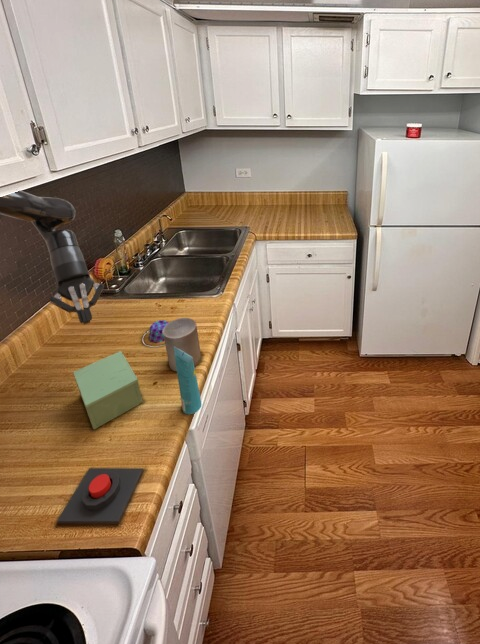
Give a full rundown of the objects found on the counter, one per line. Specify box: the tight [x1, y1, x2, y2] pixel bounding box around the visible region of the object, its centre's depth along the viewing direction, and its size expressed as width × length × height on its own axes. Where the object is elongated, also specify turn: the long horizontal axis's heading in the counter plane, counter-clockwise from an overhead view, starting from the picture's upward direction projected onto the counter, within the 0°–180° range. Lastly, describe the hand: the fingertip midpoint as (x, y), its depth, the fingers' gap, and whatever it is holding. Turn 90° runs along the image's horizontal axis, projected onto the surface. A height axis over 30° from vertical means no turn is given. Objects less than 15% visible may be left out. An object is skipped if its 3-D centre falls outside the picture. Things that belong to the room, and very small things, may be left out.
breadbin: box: [73, 375, 144, 431], centre depth 90 cm, size 14×12×9 cm
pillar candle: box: [162, 317, 202, 372], centre depth 103 cm, size 10×10×15 cm
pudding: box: [142, 319, 169, 348], centre depth 116 cm, size 12×12×5 cm
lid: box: [72, 350, 139, 409], centre depth 88 cm, size 15×12×1 cm
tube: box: [174, 347, 202, 415], centre depth 87 cm, size 7×5×19 cm, turn 63°
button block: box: [56, 467, 144, 525], centre depth 69 cm, size 12×10×4 cm
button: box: [89, 474, 111, 498], centre depth 68 cm, size 4×4×2 cm
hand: (87, 322), depth 90 cm, fingers closed
